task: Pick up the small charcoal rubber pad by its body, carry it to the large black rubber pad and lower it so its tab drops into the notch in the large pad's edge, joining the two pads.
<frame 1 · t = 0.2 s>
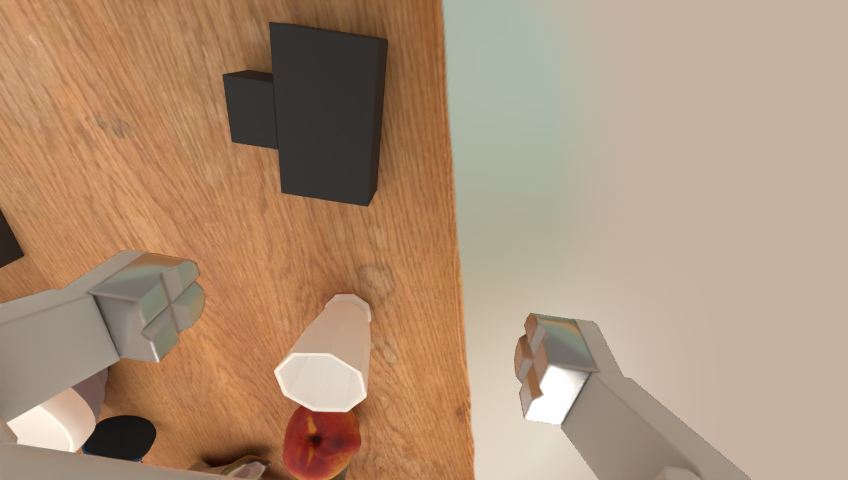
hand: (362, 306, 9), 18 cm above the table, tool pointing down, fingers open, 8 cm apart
bowl: (71, 356, 40), on the table
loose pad: (338, 115, 24), on the table
light bulb: (341, 456, 46), on the table
sunglasses: (117, 441, 48), on the table
ceramic sculpture: (242, 464, 49), on the table
fruit: (334, 402, 40), on the table
cup: (346, 320, 34), on the table
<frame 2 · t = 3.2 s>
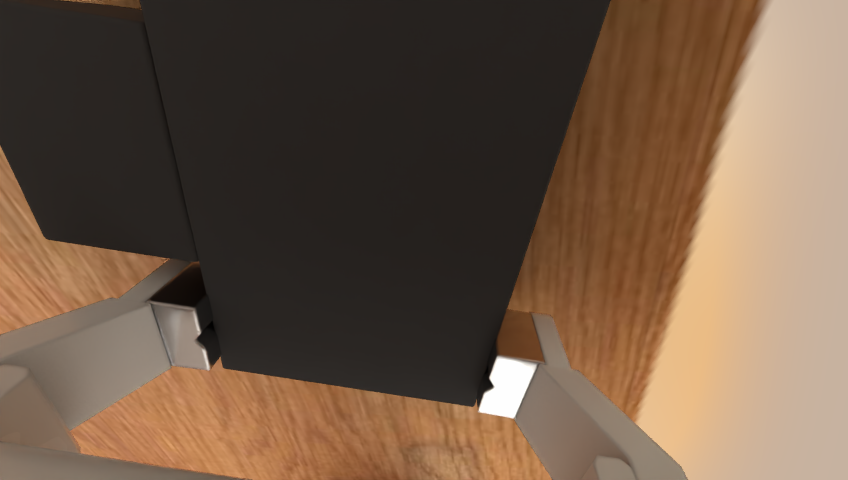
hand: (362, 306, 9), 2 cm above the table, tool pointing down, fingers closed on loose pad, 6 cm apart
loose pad: (387, 144, 8), on the table, touching gripper
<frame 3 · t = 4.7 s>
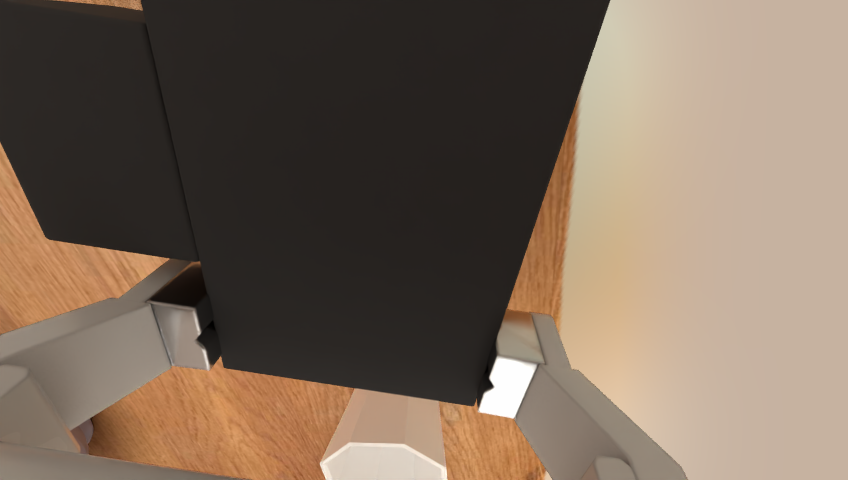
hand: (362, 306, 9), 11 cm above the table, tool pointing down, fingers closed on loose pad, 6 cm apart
bowl: (47, 408, 32), on the table
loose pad: (387, 144, 8), point 9 cm above the table, touching gripper
cup: (398, 371, 26), on the table
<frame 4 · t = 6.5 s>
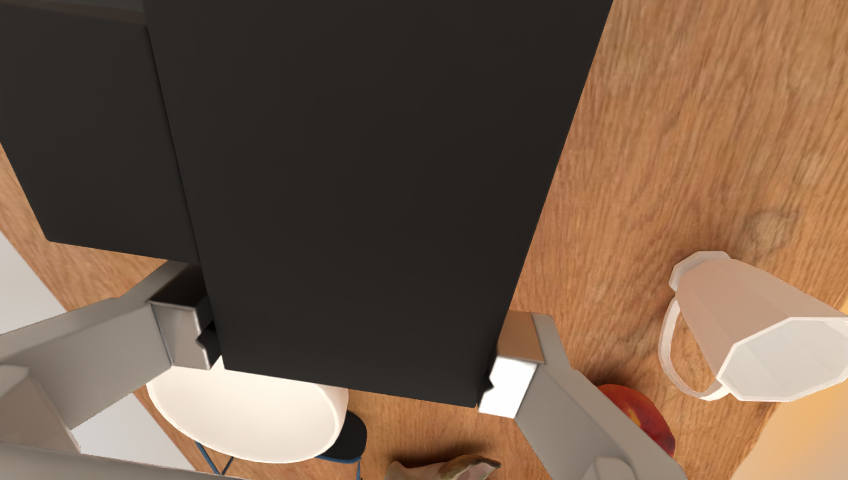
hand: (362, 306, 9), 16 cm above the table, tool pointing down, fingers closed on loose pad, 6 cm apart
bowl: (287, 333, 33), on the table
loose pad: (388, 146, 8), point 14 cm above the table, touching gripper
base pad: (184, 61, 21), on the table
sunglasses: (295, 436, 41), on the table
ceramic sculpture: (438, 464, 42), on the table
fruit: (602, 392, 33), on the table
cup: (685, 287, 27), on the table
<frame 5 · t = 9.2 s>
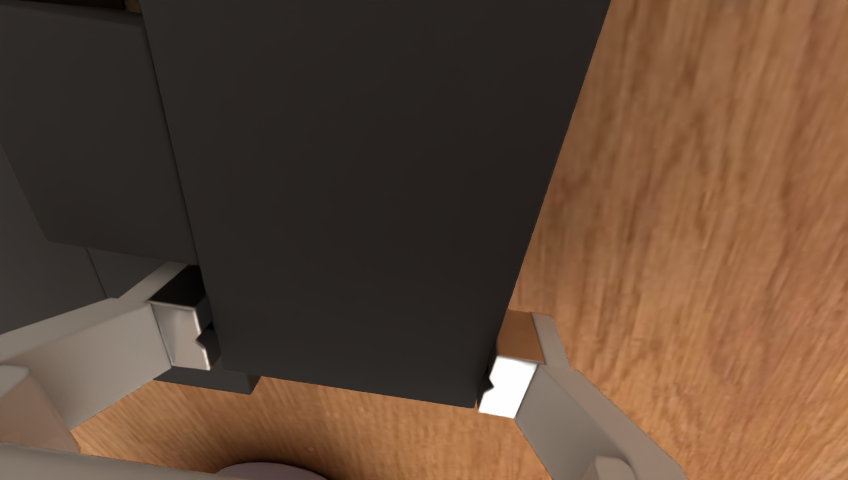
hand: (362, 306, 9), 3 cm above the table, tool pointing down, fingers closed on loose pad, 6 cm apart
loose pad: (386, 147, 8), point 1 cm above the table, touching gripper
base pad: (53, 77, 9), on the table
when the fingers open (3 cm above the table, at t = 10.3 s): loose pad drops 1 cm, on the table.
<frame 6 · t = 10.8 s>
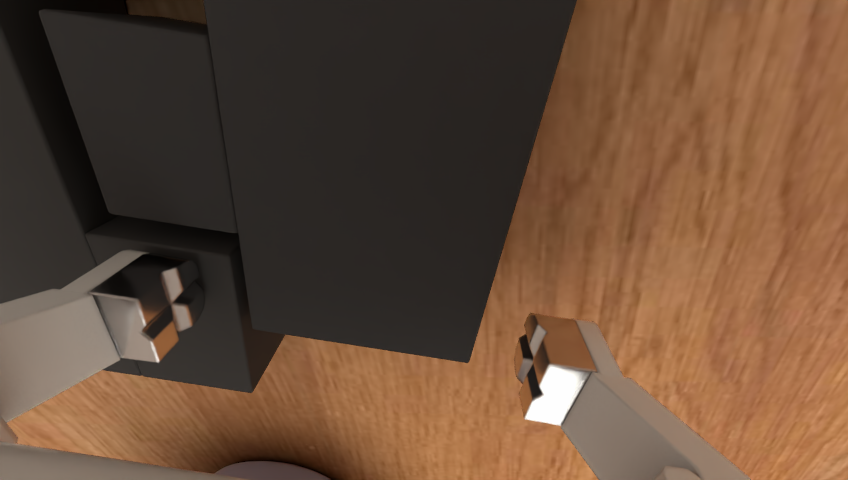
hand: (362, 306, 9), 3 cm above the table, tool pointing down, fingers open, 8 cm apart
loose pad: (394, 136, 10), on the table
base pad: (55, 76, 10), on the table
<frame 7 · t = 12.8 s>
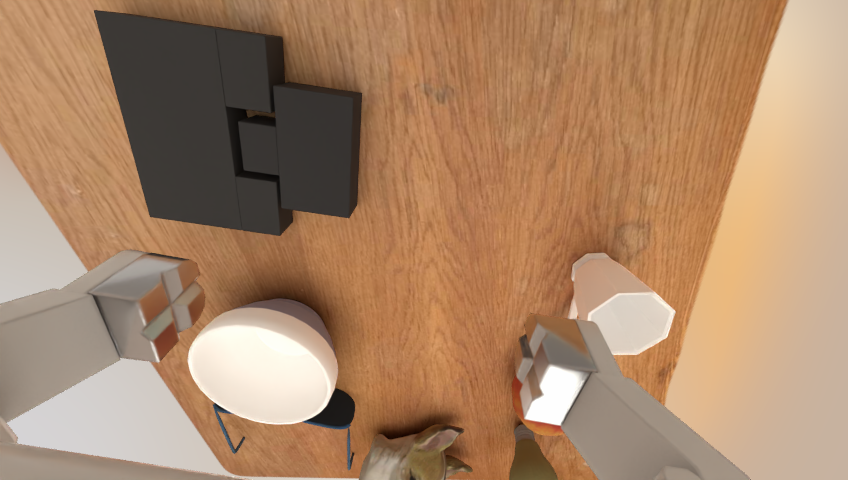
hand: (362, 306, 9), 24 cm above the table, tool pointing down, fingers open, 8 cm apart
bowl: (291, 325, 42), on the table
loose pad: (325, 148, 31), on the table
base pad: (220, 130, 31), on the table
light bulb: (522, 424, 48), on the table
sunglasses: (297, 415, 50), on the table
ceramic sculpture: (416, 436, 50), on the table
fruit: (538, 367, 42), on the table
cup: (584, 280, 36), on the table
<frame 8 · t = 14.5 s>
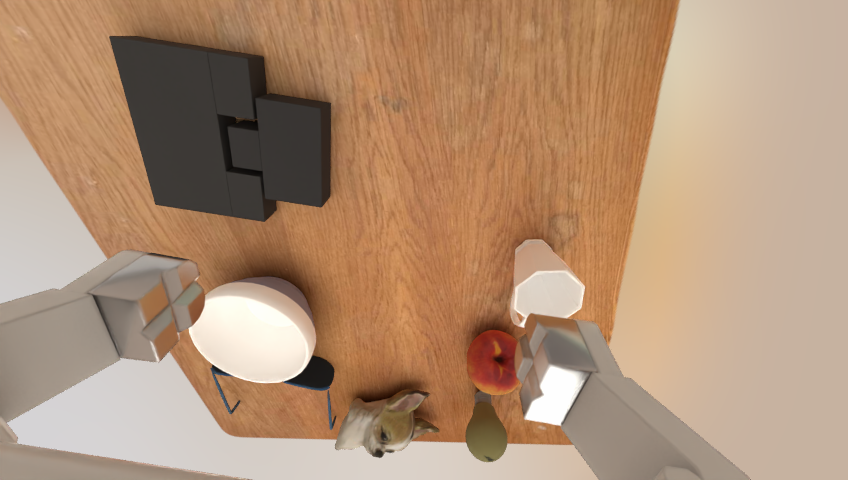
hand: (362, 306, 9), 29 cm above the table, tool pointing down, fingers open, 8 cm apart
bowl: (277, 300, 48), on the table
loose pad: (302, 148, 37), on the table
base pad: (214, 132, 37), on the table
light bulb: (482, 390, 54), on the table
sunglasses: (285, 381, 57), on the table
ceramic sculpture: (390, 401, 57), on the table
fruit: (492, 339, 49), on the table
cup: (526, 263, 42), on the table
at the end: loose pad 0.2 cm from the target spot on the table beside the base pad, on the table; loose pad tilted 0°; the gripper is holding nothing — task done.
